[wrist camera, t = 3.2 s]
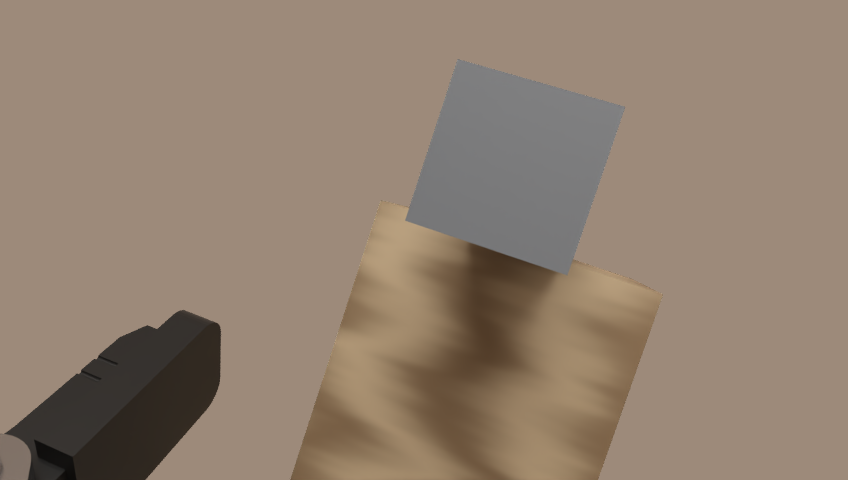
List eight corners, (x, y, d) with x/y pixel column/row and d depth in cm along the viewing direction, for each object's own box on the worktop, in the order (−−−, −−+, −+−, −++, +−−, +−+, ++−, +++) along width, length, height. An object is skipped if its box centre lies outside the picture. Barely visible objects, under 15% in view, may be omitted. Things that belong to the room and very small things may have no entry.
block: (405, 220, 16) (457, 59, 16) (504, 235, 46) (523, 178, 45) (567, 275, 15) (625, 107, 15) (561, 254, 45) (581, 196, 45)
